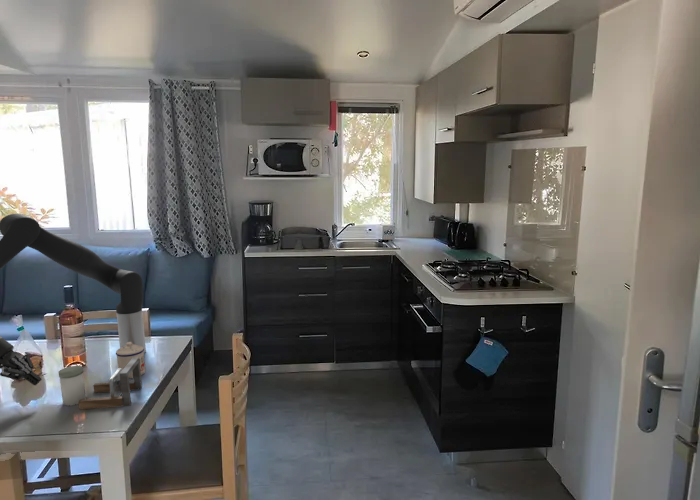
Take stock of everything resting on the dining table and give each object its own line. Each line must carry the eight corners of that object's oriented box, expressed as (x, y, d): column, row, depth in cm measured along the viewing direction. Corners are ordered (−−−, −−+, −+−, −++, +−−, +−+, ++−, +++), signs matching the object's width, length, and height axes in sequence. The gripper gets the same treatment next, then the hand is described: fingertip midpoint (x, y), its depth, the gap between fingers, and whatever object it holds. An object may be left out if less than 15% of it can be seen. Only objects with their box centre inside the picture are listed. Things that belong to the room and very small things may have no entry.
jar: (67, 396, 156) (64, 366, 155) (90, 395, 157) (86, 365, 155) (58, 406, 150) (54, 375, 148) (81, 404, 150) (77, 373, 149)
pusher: (120, 390, 159) (118, 368, 158) (138, 388, 160) (136, 367, 158) (111, 402, 151) (108, 379, 149) (130, 400, 151) (128, 377, 150)
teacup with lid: (140, 378, 169) (137, 346, 167) (113, 379, 168) (110, 347, 166) (152, 365, 180) (150, 335, 179) (127, 366, 180) (124, 335, 178)
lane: (95, 390, 160) (92, 360, 158) (141, 387, 162) (139, 357, 160) (79, 409, 147) (75, 376, 146) (129, 405, 149) (126, 373, 148)
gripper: (-14, 345, 141) (36, 382, 144) (11, 331, 154) (56, 365, 157) (-32, 364, 141) (19, 400, 144) (-5, 348, 154) (41, 382, 157)
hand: (38, 382), depth 151 cm, fingers closed
